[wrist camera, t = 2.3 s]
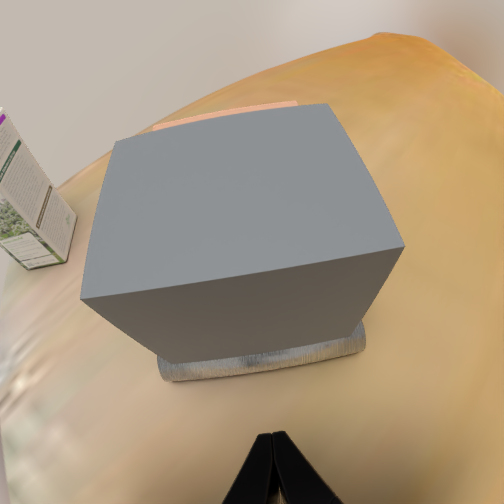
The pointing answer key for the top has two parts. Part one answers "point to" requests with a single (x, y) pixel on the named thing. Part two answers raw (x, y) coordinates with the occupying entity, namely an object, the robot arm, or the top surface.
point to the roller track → (264, 359)
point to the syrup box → (30, 206)
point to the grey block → (238, 236)
